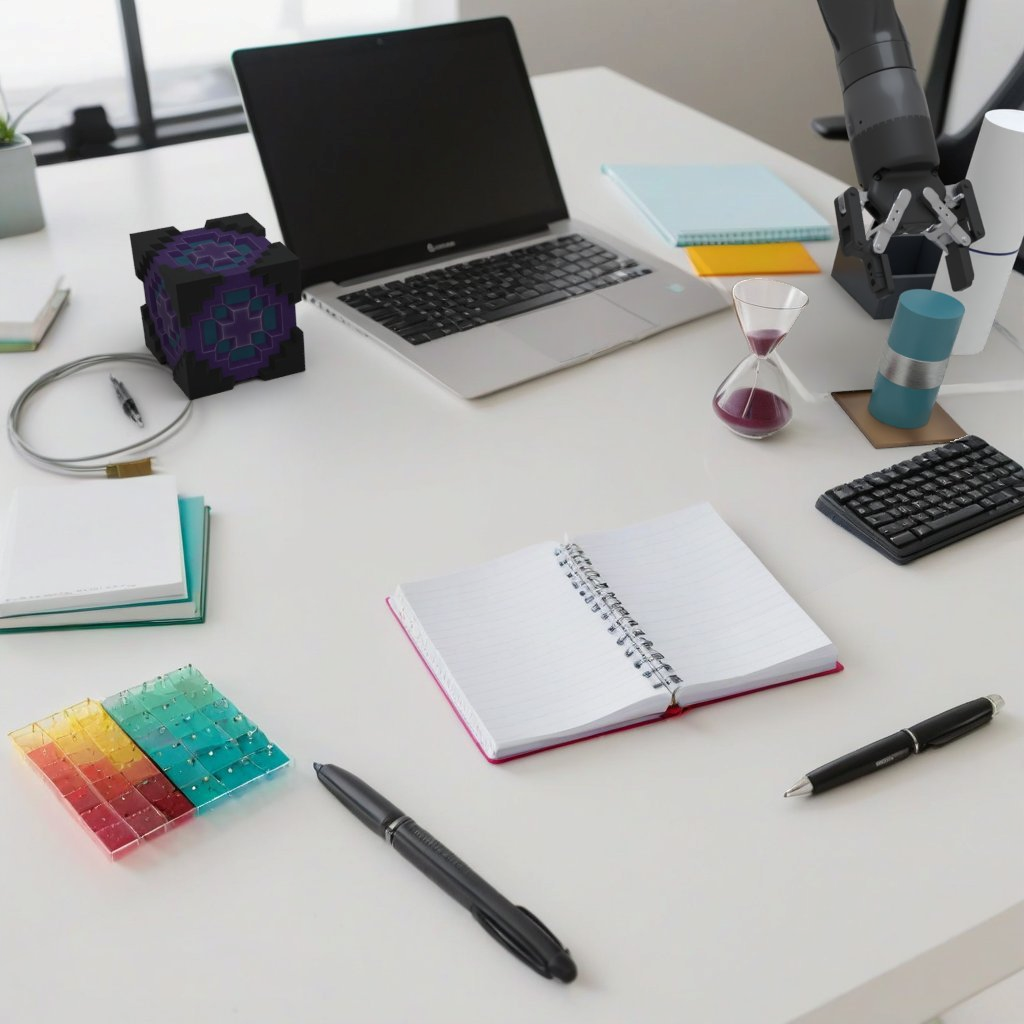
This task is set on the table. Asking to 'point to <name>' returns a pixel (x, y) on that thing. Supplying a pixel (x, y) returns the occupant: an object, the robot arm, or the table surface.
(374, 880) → the table surface
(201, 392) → the energy cube
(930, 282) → the tub
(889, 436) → the coaster
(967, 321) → the cylindrical container
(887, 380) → the can
